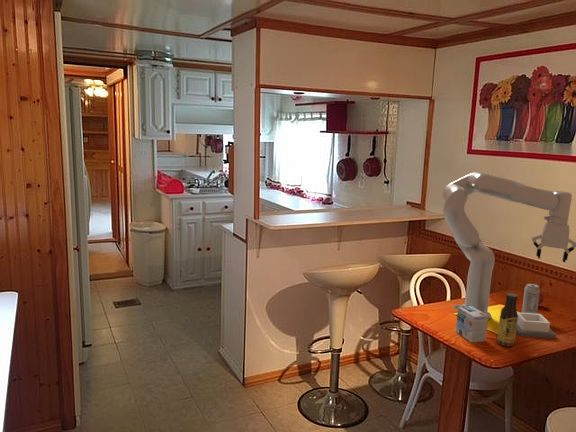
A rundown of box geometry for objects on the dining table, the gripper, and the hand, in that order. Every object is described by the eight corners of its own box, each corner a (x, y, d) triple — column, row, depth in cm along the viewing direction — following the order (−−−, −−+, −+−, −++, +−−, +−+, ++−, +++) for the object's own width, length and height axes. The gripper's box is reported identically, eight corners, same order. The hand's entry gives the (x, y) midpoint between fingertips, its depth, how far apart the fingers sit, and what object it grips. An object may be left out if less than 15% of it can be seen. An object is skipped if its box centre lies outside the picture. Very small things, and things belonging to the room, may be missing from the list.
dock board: (519, 335, 202) (520, 322, 201) (507, 322, 215) (509, 310, 214) (555, 338, 200) (557, 325, 199) (542, 324, 214) (543, 312, 213)
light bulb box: (455, 331, 204) (457, 306, 202) (469, 330, 206) (471, 305, 204) (471, 343, 194) (473, 316, 192) (486, 341, 196) (488, 315, 194)
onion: (526, 303, 240) (528, 287, 238) (539, 303, 240) (541, 287, 238) (532, 307, 234) (534, 291, 233) (544, 308, 234) (546, 291, 232)
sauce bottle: (505, 348, 190) (511, 298, 186) (492, 342, 195) (498, 293, 192) (518, 346, 192) (524, 296, 189) (505, 339, 198) (511, 291, 194)
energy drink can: (534, 316, 223) (538, 283, 221) (538, 321, 218) (542, 288, 215) (519, 314, 225) (523, 282, 222) (523, 319, 219) (527, 286, 216)
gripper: (535, 219, 212) (529, 258, 215) (582, 224, 205) (575, 265, 209) (534, 216, 219) (528, 254, 222) (579, 222, 212) (572, 261, 215)
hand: (551, 259), depth 215 cm, fingers open, 9 cm apart
